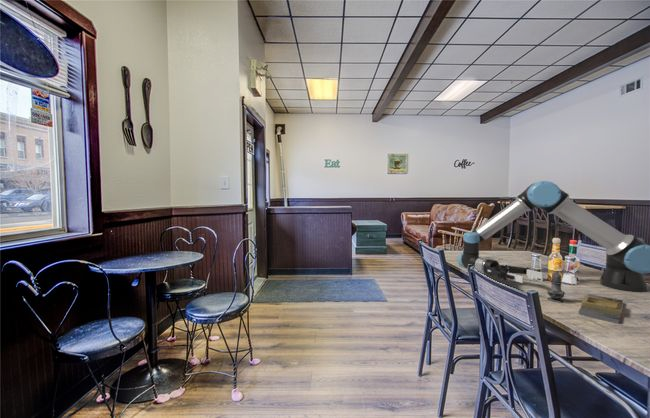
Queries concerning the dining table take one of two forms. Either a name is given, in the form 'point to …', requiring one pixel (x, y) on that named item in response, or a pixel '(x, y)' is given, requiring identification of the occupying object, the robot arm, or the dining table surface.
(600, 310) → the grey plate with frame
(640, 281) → the robot arm
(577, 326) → the dining table surface
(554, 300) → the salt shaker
